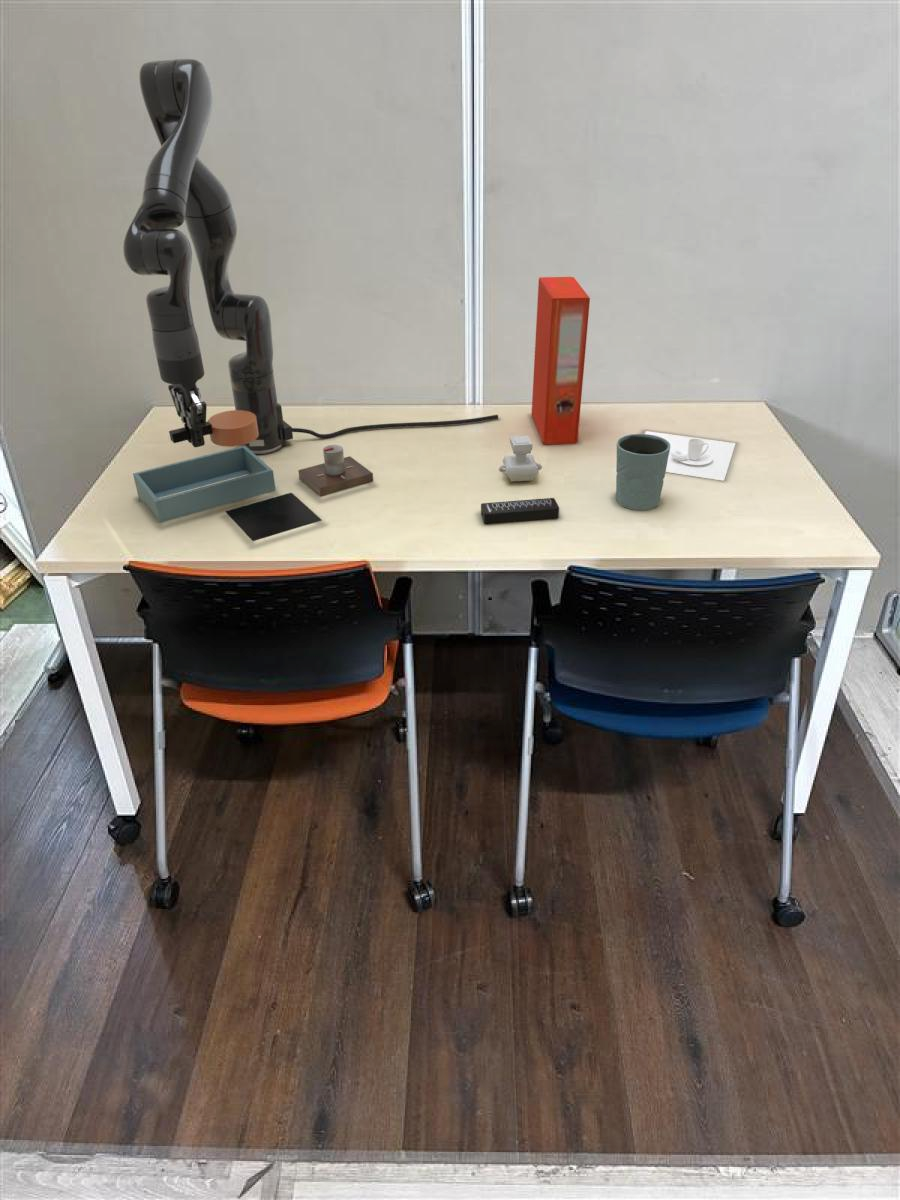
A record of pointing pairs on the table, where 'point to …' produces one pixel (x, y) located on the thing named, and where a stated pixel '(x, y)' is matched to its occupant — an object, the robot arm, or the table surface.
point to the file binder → (559, 358)
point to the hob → (272, 516)
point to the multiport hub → (519, 511)
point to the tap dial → (334, 460)
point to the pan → (225, 429)
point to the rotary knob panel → (335, 477)
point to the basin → (203, 483)
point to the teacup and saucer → (697, 456)
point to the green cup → (640, 470)
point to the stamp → (520, 461)
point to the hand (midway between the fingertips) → (196, 443)
